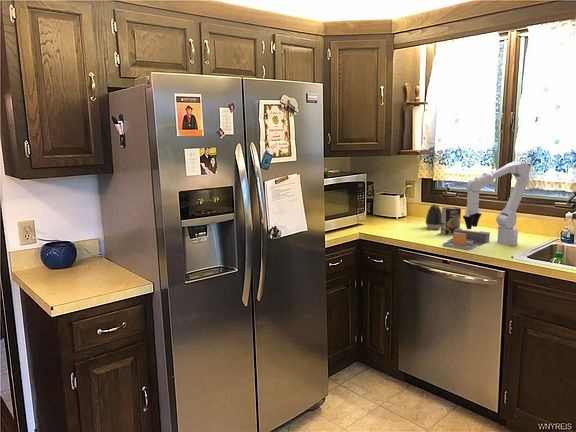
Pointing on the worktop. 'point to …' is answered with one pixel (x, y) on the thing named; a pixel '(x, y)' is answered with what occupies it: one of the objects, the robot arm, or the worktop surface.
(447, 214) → the coffee box
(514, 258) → the worktop surface
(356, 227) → the worktop surface
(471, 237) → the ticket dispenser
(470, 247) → the collection tray
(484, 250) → the worktop surface
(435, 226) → the dark grey egg shape
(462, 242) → the end ticket
